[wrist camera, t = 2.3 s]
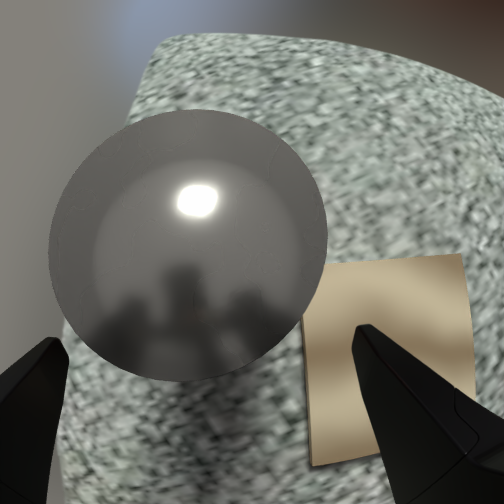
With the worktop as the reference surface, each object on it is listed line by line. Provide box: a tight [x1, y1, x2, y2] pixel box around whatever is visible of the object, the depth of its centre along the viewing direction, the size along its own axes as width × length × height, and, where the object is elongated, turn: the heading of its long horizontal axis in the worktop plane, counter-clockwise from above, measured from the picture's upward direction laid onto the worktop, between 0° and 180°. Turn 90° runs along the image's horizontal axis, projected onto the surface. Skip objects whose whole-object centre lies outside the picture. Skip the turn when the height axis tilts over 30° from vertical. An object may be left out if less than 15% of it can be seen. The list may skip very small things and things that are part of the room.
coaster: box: [301, 253, 475, 466], centre depth 17 cm, size 12×12×1 cm
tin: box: [48, 109, 328, 382], centre depth 12 cm, size 6×6×13 cm
